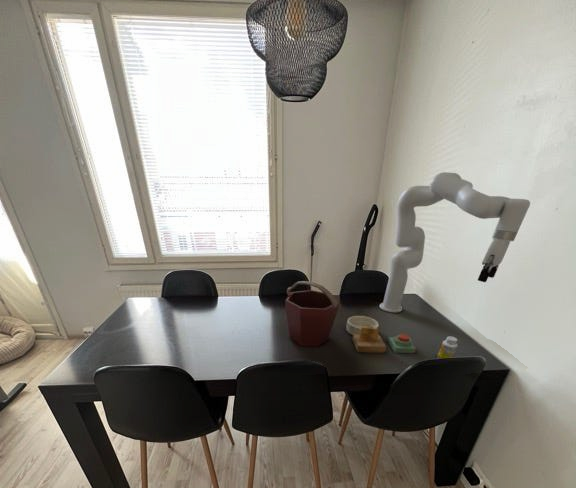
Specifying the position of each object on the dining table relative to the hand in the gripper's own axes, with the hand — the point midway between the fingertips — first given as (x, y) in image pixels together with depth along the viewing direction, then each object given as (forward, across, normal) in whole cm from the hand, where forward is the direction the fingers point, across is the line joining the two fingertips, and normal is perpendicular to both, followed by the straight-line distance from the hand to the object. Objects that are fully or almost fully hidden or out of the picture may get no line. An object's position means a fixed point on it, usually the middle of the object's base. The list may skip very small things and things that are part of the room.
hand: (485, 279), depth 124 cm
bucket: (+29, +55, -48) cm, 78 cm away
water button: (+26, +29, -15) cm, 42 cm away
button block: (+29, +29, -15) cm, 44 cm away
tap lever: (+26, +39, -26) cm, 54 cm away
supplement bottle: (+29, +25, +3) cm, 38 cm away
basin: (+29, +31, -35) cm, 55 cm away
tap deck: (+29, +40, -26) cm, 55 cm away
